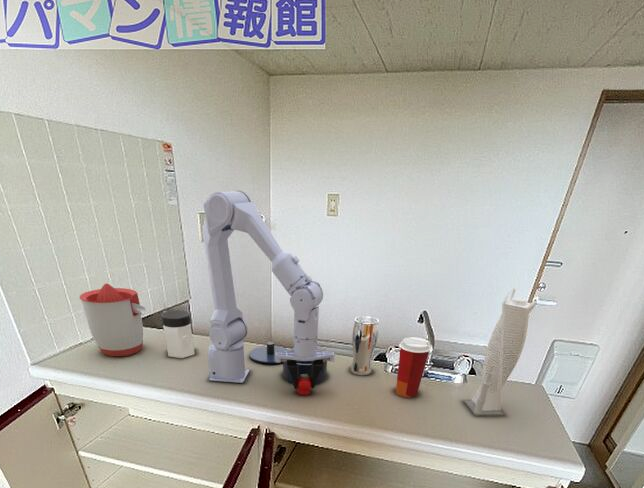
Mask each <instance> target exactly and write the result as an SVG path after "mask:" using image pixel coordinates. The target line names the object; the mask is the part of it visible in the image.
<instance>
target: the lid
mask: <svg viewBox="0 0 644 488" xmlns="http://www.w3.org/2000/svg"><path fill="white" fill-rule="evenodd" d="M265 346H267V347H265ZM289 350H290V349H288V348H287V347H284V346H279V345H275V342H274V341H267V342H266V345H262V346H258V347H254V348H253V349H251V350H250V351H249V353H248V355H249V358H250V359H251V360H253V361H255V362H257V363H262V364H277V363H276V352H286V351H289Z"/></svg>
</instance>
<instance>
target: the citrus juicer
mask: <svg viewBox="0 0 644 488" xmlns="http://www.w3.org/2000/svg"><path fill="white" fill-rule="evenodd" d="M79 300H80V301H81V303H82V304H81V305H82V307H83V310H84V314H85V319H86V321H87V326H88V328H89V331H90V334H91V336H92V338H93V341H94V342H95V344H96V345H97V347H98V349H99V350H100V351H101V352H102V354H103V355H106V356H109V357H124V356H132V355H134V354H136V353H138V352H140V351H141V350H142V347H143V343H144V326H143V319H142V316H144V315H146V314H147V309H146V308H145V306H143V305H141V303H140V298H139V293H138V291H136V290H134V289H131V288H125V287H123V288H122V287H114V286H112V285H111V284H109V283H108V282H107V283H106V282H105V283H104V284H103V285H102V287H101V288H98V289H93V290H89V291H85V292H83V293H81V294H79Z"/></svg>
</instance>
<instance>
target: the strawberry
mask: <svg viewBox="0 0 644 488" xmlns="http://www.w3.org/2000/svg"><path fill="white" fill-rule="evenodd" d="M311 386H312V380H311V378H310V377H309V376H308V375H307V374H301V375H300V377H298V379H297V389H296V390H297V394H299V395H302V396H307V395H309V394H310V393H311V389H312V388H311Z"/></svg>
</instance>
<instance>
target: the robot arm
mask: <svg viewBox="0 0 644 488" xmlns="http://www.w3.org/2000/svg"><path fill="white" fill-rule="evenodd" d="M203 211H204V218H203V219H204V220H203V224H202V230H201V231H202V239H203V245H204V251H205V256H206V262H207V269H208V275H209V281H210V287H211V293H212V299H213V300H212V301H213V306H214V311H213V313H212V316H211V317H210V319H209V323H210V328H209V340H210V342H211V344H210V345H209V347H208V350H207V362H208V363H207V364H208V370H209V381H210V382H211V381H212V382H223V383H224V382H225V383H239V384H243V383H244V382H245V380H246V378H247V376H248V375H249V373H250V369H246V366H245V365H246V363H245V347H244V343H245V338H246V337H247V336H248V333H249V330H248V325H247V323H246V321H245V319H244V314H243V312H242V310H240V309H239V308H238V307H237V300H236V293H235V285H234V277H233V271H232V270H233V269H232V264H231V256H230V249H229V240H228V239H229V238H230V237H231V235H232V234H233V233H234V232H235V231H238V232H243V233H246V234H247V235H249V237H250V238H251V239H252V240H253V241H254V243H255V244H256V245H257V247H258V248H259V249H260V250H261V252H262V253H264V255H265V256H266V257H267V258H268V260H269V261H270V262H271V272H272V273H273V275H274V276H275V278H276V279H277V281H279V283H280V285H281V286H282V287H283V289H284V290H285V291H286V292H287V293H288V295H289V296H290V298H289V303H290V306H291V307H292V309H293V312H294V313H293V315H294V316H293V349H294V350H292V351H286V352H276V363H275V364H280V363H283V362H284V361H286V362H287V367H288V369H289V371H290V373H291V376H292V378H293V382H294V383H293V389H294V390H297V362H296V361H312V374H311V380H312V386H311V388H310V389H315V386H316V384H315V383H316V380H317V378H318V376H319V374H320V372H321V370H322V369H323V367H324V363H323V361H327V362H330V363H334V362H335V355H336V354H335V353H334V351H326V350H320V351H319V349H318V336H319V335H318V334H319V310H320V306H319V305H320V304H321V303H322V301H323V298H324V291H323V289H322V287H321V284H320V283H319V282H318V281H316V280H313V279H312V277H311V275H307V273H306V272H305V270H304V269H303V267H302V266H301V265H300V264H299V262H300V259H299V258H298V256H297V255H295V256H294V255H293V254H292V253H290V252H285V251H283V249H282V247H281V246H280V244H279V242H278V241H277V240H276V238H275V237H274V235H273V233H272V232H271V230H270V229H269V227H268V226H267V223H265V220H264V219H263V217H262V216H261V214H260V212H259V209H258V205H256V203H254V201H252V199H251V198H250V195H248V194H247V193H246V192H245V191H244V190H234V191H215V192H213V193H211V194H210V195H209V196H208V198H206V201H205V202H204V203H203Z"/></svg>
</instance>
